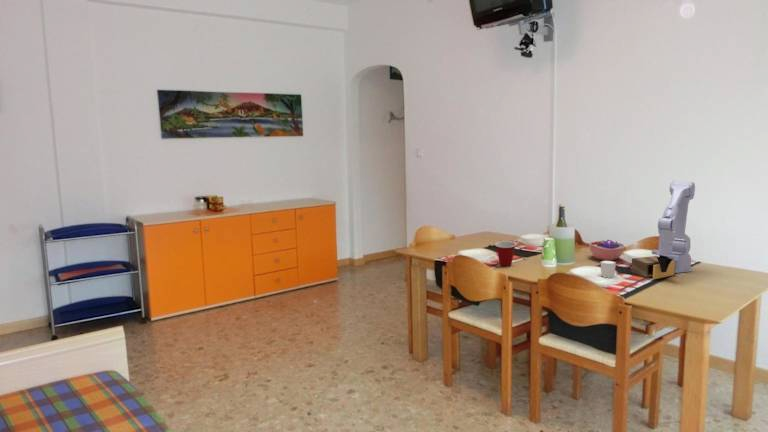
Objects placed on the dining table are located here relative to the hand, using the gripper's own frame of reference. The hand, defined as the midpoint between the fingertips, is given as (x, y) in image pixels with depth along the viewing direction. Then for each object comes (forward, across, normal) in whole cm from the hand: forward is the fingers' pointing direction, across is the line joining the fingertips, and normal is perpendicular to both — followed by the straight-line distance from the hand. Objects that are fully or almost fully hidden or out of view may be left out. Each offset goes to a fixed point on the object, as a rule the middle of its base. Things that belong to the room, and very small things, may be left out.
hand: (663, 272), depth 251 cm
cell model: (+4, -41, 0) cm, 41 cm away
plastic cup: (+4, -48, -56) cm, 74 cm away
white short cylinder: (+4, -13, -20) cm, 24 cm away
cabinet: (+3, -10, +2) cm, 11 cm away
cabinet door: (+3, -2, +3) cm, 5 cm away
